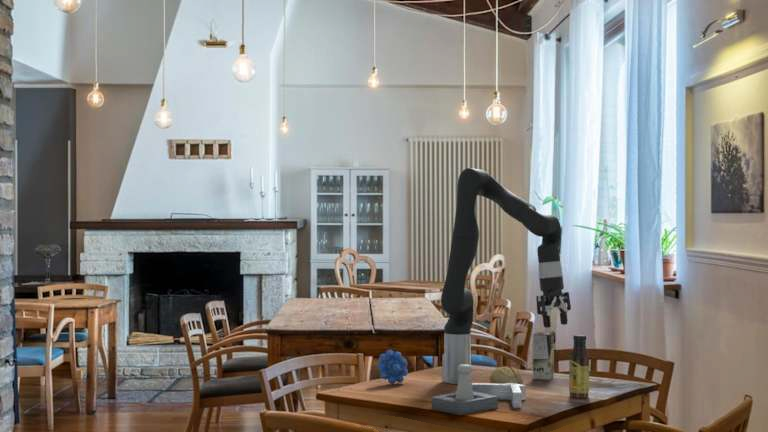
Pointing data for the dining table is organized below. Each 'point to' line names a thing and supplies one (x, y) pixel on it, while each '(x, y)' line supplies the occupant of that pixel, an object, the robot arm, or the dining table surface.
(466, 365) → the salt shaker
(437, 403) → the grey rectangular frame
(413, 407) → the dining table surface
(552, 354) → the coffee box
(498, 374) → the bread roll
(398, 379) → the grapes
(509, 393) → the v block
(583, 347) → the sauce bottle
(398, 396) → the dining table surface
